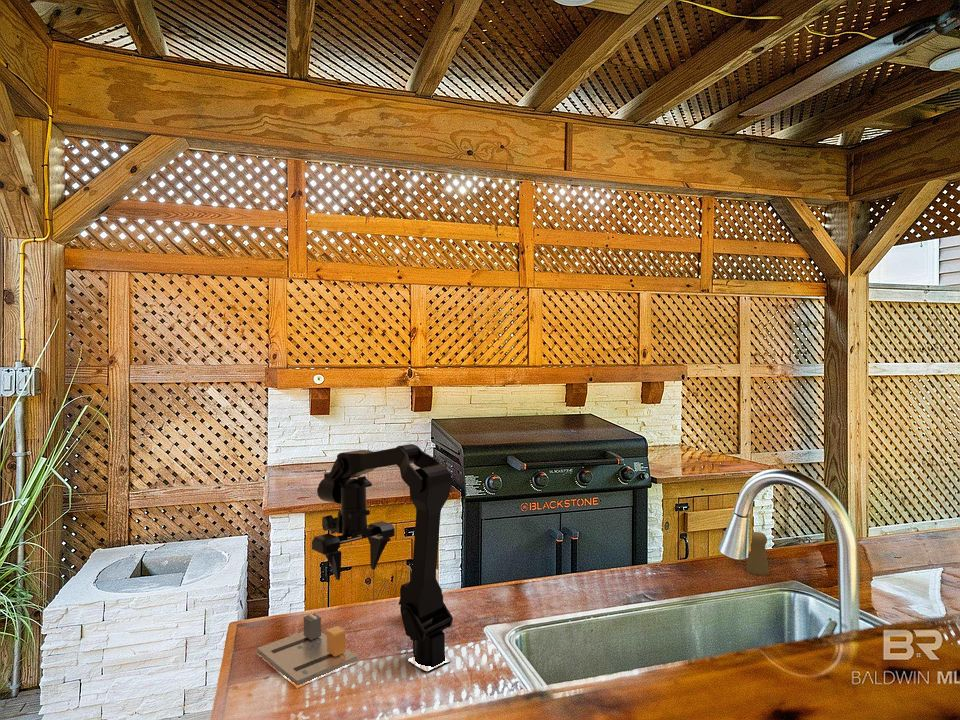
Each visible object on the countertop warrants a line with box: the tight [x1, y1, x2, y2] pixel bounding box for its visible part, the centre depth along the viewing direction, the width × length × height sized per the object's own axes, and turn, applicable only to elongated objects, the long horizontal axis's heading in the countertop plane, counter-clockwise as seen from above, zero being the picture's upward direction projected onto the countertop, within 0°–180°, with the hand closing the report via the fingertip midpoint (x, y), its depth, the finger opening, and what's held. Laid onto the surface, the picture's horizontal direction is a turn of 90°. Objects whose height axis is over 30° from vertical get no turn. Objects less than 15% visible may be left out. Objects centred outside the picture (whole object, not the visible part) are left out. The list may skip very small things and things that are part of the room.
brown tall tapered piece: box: [745, 531, 770, 576], centre depth 164 cm, size 6×6×11 cm
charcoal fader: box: [303, 612, 322, 640], centre depth 124 cm, size 3×2×4 cm
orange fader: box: [326, 625, 346, 657], centre depth 117 cm, size 3×2×4 cm
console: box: [256, 630, 359, 685], centre depth 118 cm, size 18×13×2 cm
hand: (355, 574), depth 131 cm, fingers open, 9 cm apart
